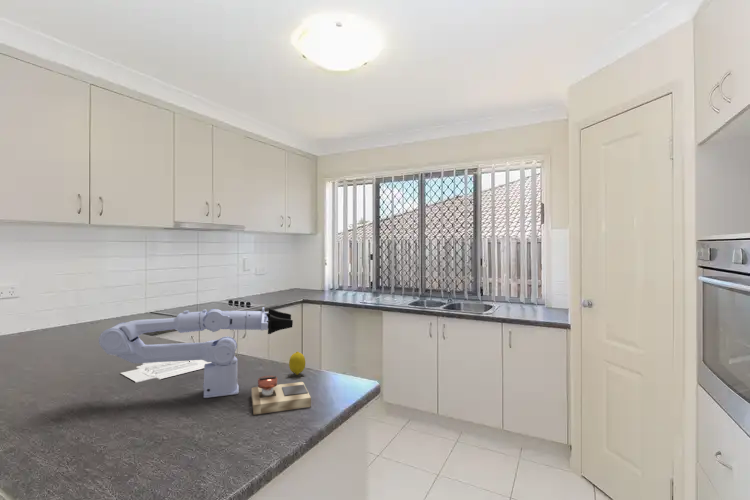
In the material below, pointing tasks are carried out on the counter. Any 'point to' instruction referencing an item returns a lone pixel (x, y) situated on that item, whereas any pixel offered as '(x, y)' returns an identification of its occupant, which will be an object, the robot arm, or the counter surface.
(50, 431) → the counter surface
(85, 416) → the counter surface
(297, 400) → the board
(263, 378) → the peg
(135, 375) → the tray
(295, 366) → the lemon
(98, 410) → the counter surface
